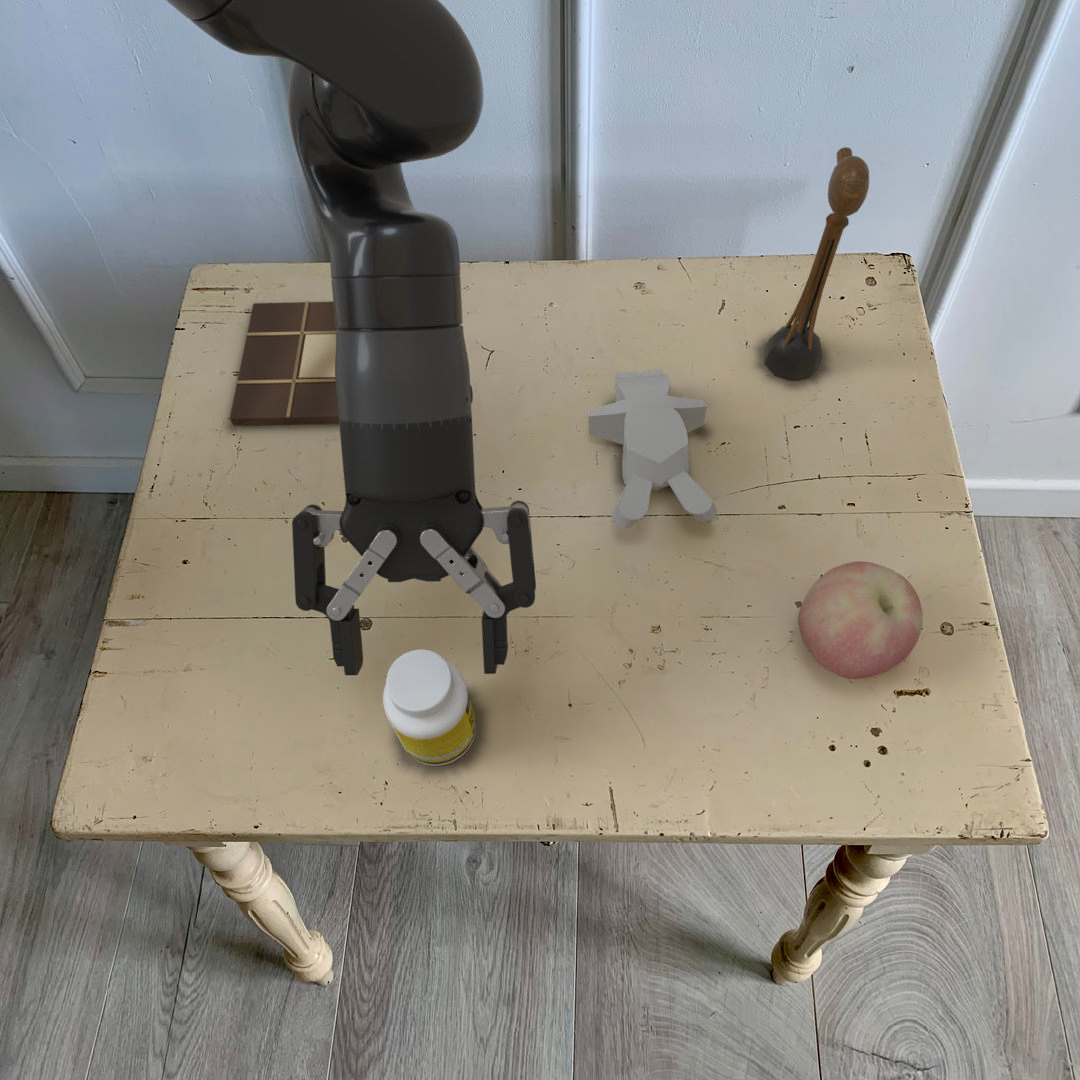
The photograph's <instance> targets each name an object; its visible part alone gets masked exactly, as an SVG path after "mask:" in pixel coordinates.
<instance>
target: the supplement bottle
mask: <svg viewBox="0 0 1080 1080" xmlns="http://www.w3.org/2000/svg"><path fill="white" fill-rule="evenodd" d="M386 674H387V675H386V681H385V684H384V687H383V688H384V689H383V692H382V705H383V709H384V713H385V715H386V718H387V720H388V721H389V724H390V725H391V727H392V728H393V730H394V732H395V734H396V736H397V737H398V739H399V742H400V743H401V745H402V747H403V749H404V750H405V751H406V753H407V754H408V755H409V756H410V757H411V758H412V759H414V761H415V760H416V761H417V762H419V763H421V764H423V765H427V766H434V767H435V766H444V765H445V766H446V765H448V764H451V763H453V762H456V761H457V760H458V759H459V758H461V757H463V756H464V754H465V753H467V751H468V750H469V749H470V748H471V746H472V745H473V742H474V740H475V737H476V733H477V718H476V712H475V709H474V706H473V704H472V703H473V702H472V700H471V697H470V692H469V689H468V684H467V682H466V680H465V678H464V676H463V674H462V672H461V671H460V670H459V668H457V666H456V665H454V664H453V663H452V662H451V661H449V660H447V659H445V658H444V657H443V656H441V655H440V654H438V653H437V652H435V651H432V650H430V649H423V648H422V649H420V648H419V649H414V650H410V651H407V652H405V653H403V654H402V655H400V656H399V657H397V658H396V659H395V661H394V662H393V663H392V664H391V666H390V668H389V669H388V672H387V673H386Z"/></svg>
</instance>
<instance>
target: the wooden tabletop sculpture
mask: <svg viewBox="0 0 1080 1080" xmlns="http://www.w3.org/2000/svg"><path fill="white" fill-rule="evenodd" d="M830 175H831V176H830V178H829V182H828V188H827V201H828V205H829V207H830V209H831V211H832V213H829V214H828V215H827V216H826V217H825V226H824V229H823V232H822V235H821V239H820V241H819V245H818V248H817V251H816V253H815V257H814V260H813V262H812V266H811V269H810V272H809V274H808V277H807V280H806V282H805V285H804V287H803V290H802V292H801V295H800V298H799V299H798V302H797V303H796V307H795V308H794V310H793V313H792V314H791V316H790V318H789V319H788V320H787V322H786V324H785V325H784V326H782V327H780V328H779V329H778V330H777V331H776V332H775V333H774V334H773V335H772V336H771V337H770V338H769V339H768V340H767V343H766V344H765V346H764V350H763V353H764V354H763V355H764V358H763V359H764V361H763V362H764V363H763V364H764V365H765V366H766V368H767V369H768V370H769V371H770V372H771V373H772V374H773V375H774V376H775V377H778V378H780V379H785V380H788V381H791V382H795V381H800V380H805V379H810V378H811V377H812V375H814V373H815V372H816V371H817V370H818V369H819V368H820V365H821V363H822V355H823V353H822V341H821V338H820V337H819V336H818V335H817V333H816V332H815V331H814V330H815V326H816V322H817V321H816V320H817V316H818V311H819V308H820V303H821V299H822V297H823V292H824V289H825V286H826V282H827V280H828V276H829V274H830V271H831V270H830V269H831V267H832V264H833V261H834V259H835V256H836V252H837V250H838V247H839V244H840V240H841V238H842V235H843V232H844V229H846V228H847V227H848V226H849V224H850V223H849V222H850V221H849V216H852V215H854V214H856V213H857V212H858V211H859V210H860V209H861V207H862V206H863V204H864V202H865V201H866V199H867V195H868V191H869V188H870V170H869V165H868V164H867V163H866V162H865V160H864V159H863V158H861V157H859V156H856V155H853V150H852V149H851V148H850V147H844V146H843V147H841V148H840V149H838V150H837V152H836V165H835V166H834V167H833V171H832V172H831V174H830Z"/></svg>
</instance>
